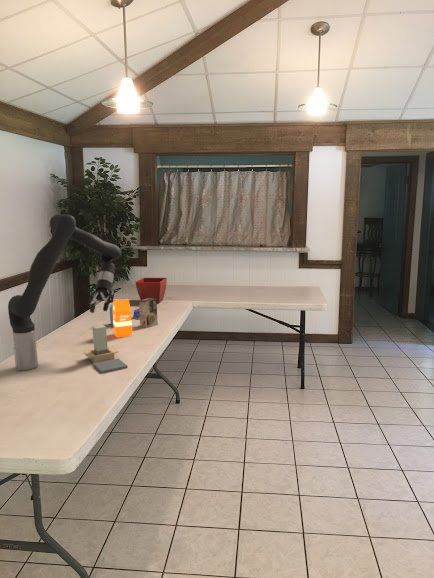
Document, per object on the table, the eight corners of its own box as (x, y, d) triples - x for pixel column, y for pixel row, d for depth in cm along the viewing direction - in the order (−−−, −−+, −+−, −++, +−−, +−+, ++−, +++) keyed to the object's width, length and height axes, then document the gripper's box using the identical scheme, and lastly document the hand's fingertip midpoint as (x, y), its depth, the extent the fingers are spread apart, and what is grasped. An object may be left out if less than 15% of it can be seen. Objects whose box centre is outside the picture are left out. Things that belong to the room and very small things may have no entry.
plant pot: (135, 304, 336) (134, 281, 333) (144, 298, 354) (143, 277, 351) (161, 304, 333) (160, 282, 330) (168, 299, 351) (167, 277, 348)
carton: (89, 364, 212) (88, 357, 211) (83, 358, 220) (82, 351, 219) (119, 358, 219) (119, 351, 218) (112, 353, 227) (112, 346, 227)
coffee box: (150, 323, 283) (149, 297, 280) (158, 324, 279) (157, 298, 276) (139, 326, 276) (138, 300, 273) (146, 327, 272) (145, 301, 269)
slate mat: (101, 373, 200) (101, 371, 200) (93, 365, 210) (93, 363, 210) (127, 367, 207) (127, 365, 206) (118, 360, 217) (118, 358, 216)
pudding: (131, 315, 304) (131, 307, 303) (149, 315, 304) (149, 307, 303) (128, 319, 293) (127, 312, 292) (146, 319, 292) (146, 311, 291)
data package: (131, 322, 285) (130, 303, 282) (130, 324, 280) (129, 305, 278) (111, 323, 283) (110, 304, 281) (110, 325, 279) (109, 306, 277)
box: (97, 361, 216) (95, 328, 213) (94, 358, 220) (92, 326, 217) (108, 359, 219) (106, 326, 216) (104, 356, 223) (102, 324, 220)
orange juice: (114, 333, 261) (111, 299, 257) (129, 332, 264) (127, 298, 260) (116, 337, 254) (114, 302, 250) (132, 335, 257) (130, 300, 253)
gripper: (89, 280, 231) (82, 310, 225) (110, 276, 225) (104, 307, 218) (99, 286, 237) (92, 315, 230) (120, 283, 230) (114, 313, 224)
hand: (98, 311), depth 224 cm, fingers open, 8 cm apart
